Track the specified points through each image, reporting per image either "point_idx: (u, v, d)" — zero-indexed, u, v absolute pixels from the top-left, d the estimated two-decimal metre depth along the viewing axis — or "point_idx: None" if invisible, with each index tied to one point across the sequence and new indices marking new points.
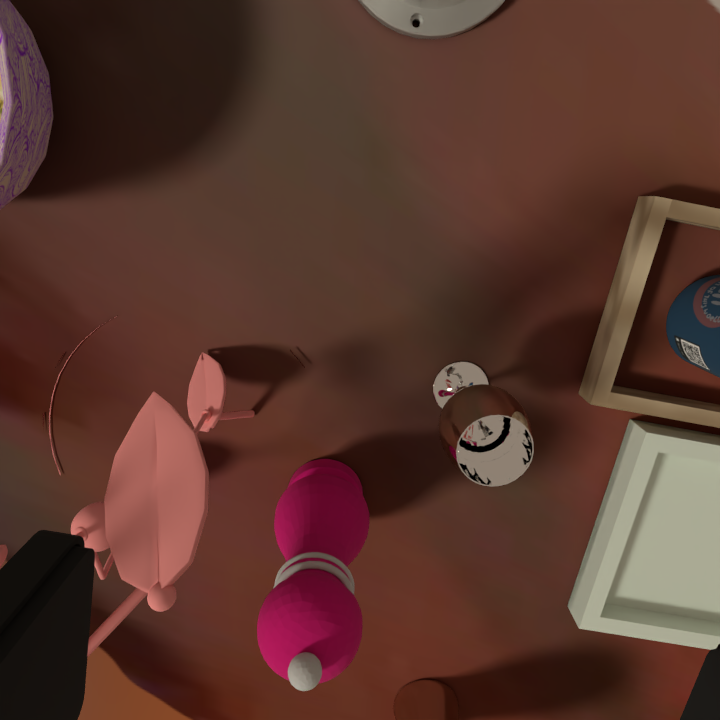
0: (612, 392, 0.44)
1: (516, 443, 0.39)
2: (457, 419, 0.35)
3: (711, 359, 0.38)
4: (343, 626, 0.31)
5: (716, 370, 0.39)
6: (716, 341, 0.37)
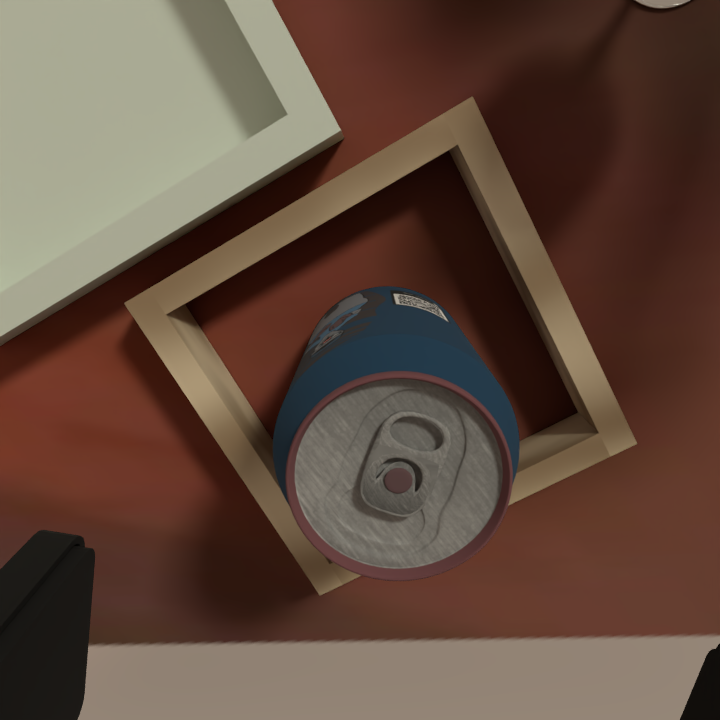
0: (451, 147, 0.21)
1: None
2: None
3: (438, 321, 0.19)
4: None
5: (411, 312, 0.19)
6: (476, 353, 0.18)
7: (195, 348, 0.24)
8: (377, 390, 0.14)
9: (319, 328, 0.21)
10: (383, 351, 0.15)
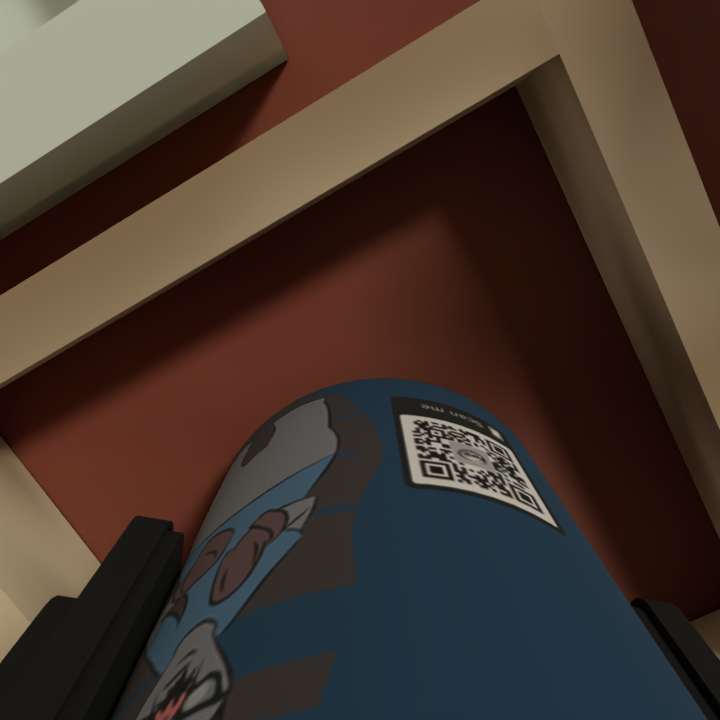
0: None
1: None
2: None
3: (553, 572, 0.06)
4: None
5: (467, 543, 0.06)
6: (690, 696, 0.05)
7: None
8: None
9: (218, 509, 0.09)
10: None
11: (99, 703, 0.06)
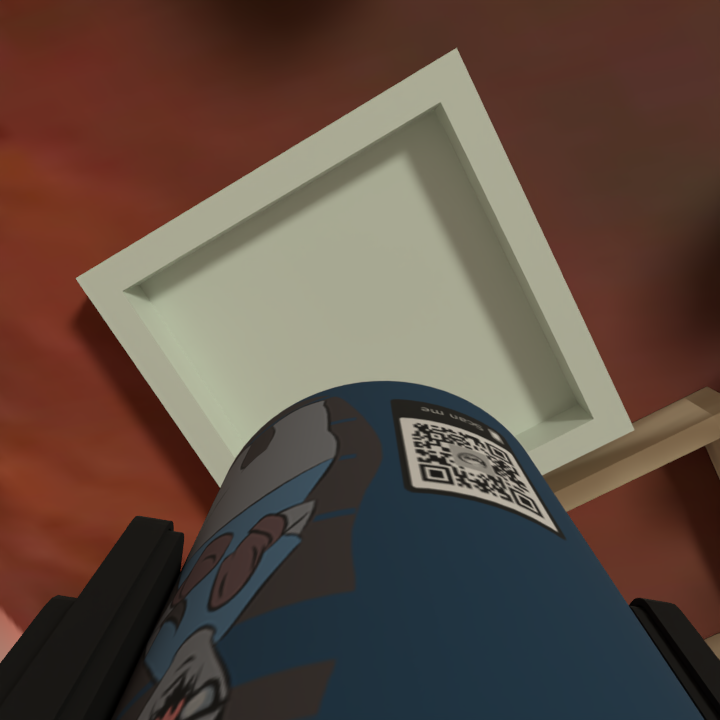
0: (716, 437, 0.27)
1: None
2: None
3: (553, 578, 0.06)
4: None
5: (467, 548, 0.06)
6: (690, 702, 0.05)
7: None
8: None
9: (217, 513, 0.09)
10: None
11: (99, 703, 0.06)
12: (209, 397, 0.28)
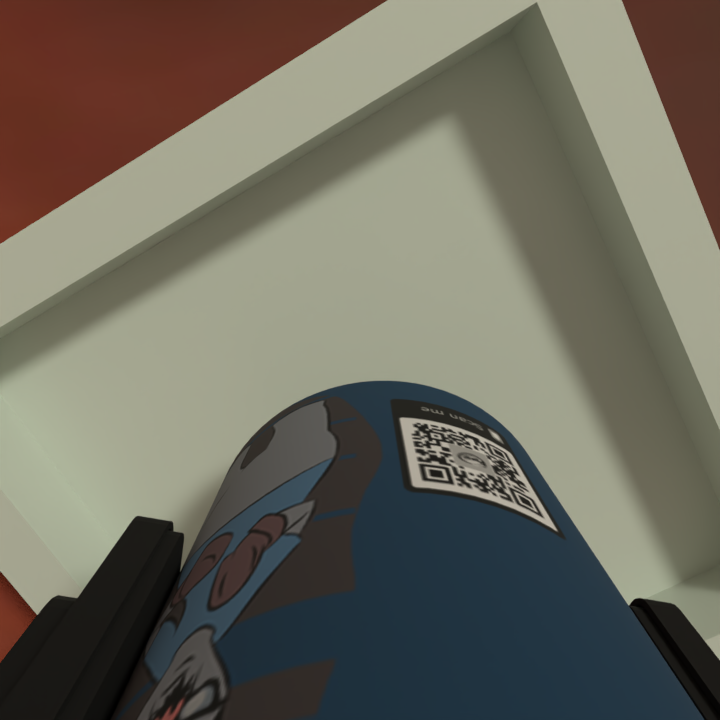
0: None
1: None
2: None
3: (553, 577, 0.06)
4: None
5: (467, 548, 0.06)
6: (690, 702, 0.05)
7: None
8: None
9: (217, 513, 0.09)
10: None
11: (99, 703, 0.06)
12: (103, 550, 0.16)
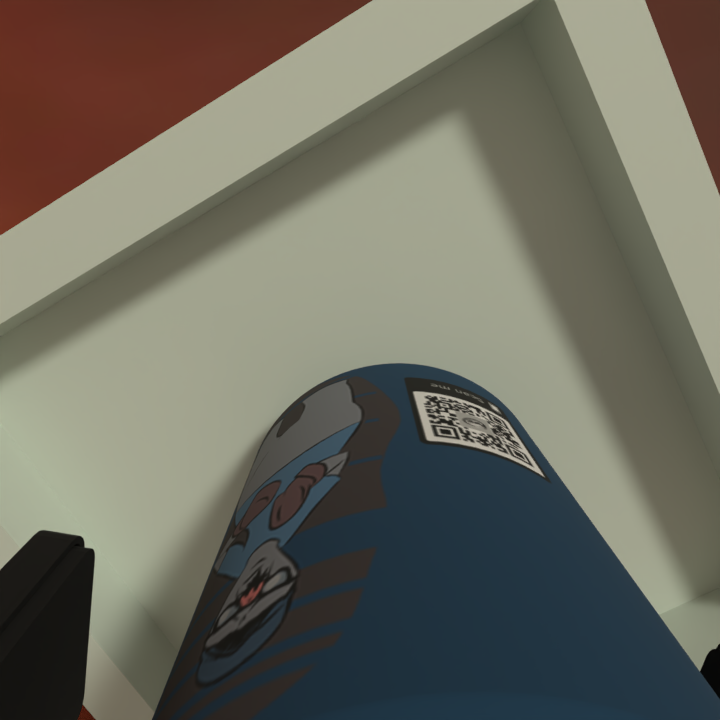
0: None
1: None
2: None
3: (538, 503, 0.08)
4: None
5: (471, 481, 0.08)
6: (644, 595, 0.07)
7: None
8: None
9: (261, 470, 0.10)
10: None
11: None
12: (94, 565, 0.15)
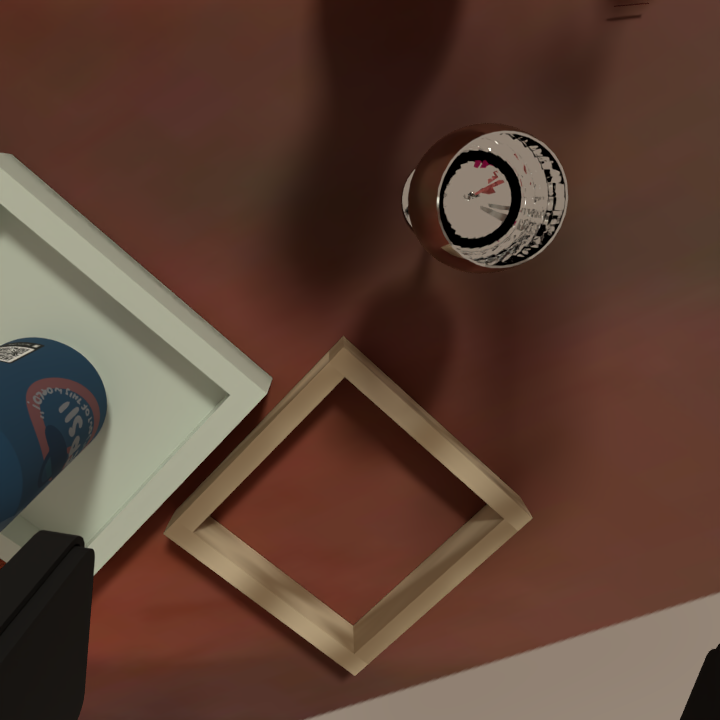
0: (341, 378, 0.32)
1: None
2: None
3: None
4: None
5: None
6: (5, 383, 0.25)
7: (218, 543, 0.35)
8: None
9: None
10: None
11: None
12: None
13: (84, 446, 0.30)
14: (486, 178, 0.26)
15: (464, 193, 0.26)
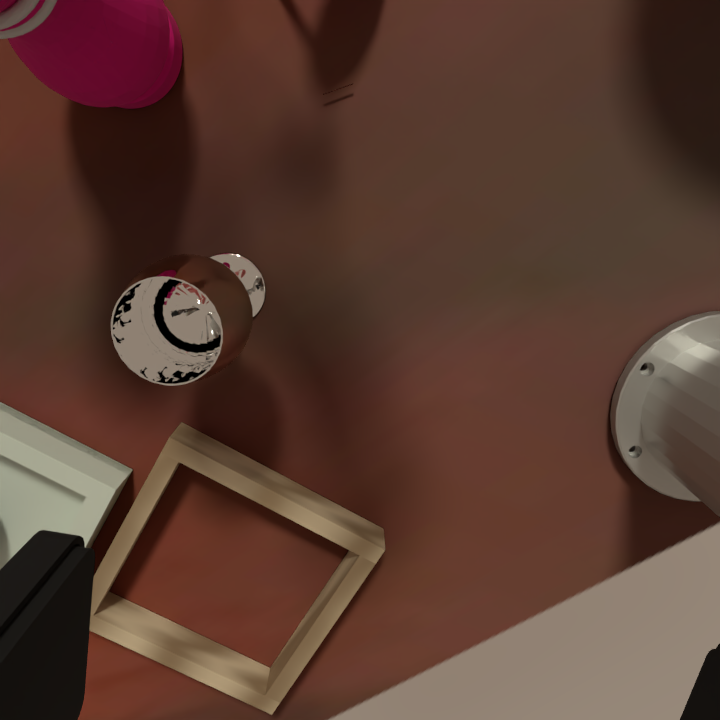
0: (177, 463, 0.36)
1: (156, 351, 0.28)
2: (223, 292, 0.25)
3: None
4: None
5: None
6: None
7: (122, 619, 0.40)
8: None
9: None
10: None
11: None
12: None
13: None
14: None
15: (201, 301, 0.30)
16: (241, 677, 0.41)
